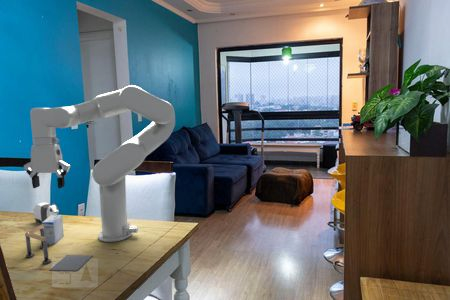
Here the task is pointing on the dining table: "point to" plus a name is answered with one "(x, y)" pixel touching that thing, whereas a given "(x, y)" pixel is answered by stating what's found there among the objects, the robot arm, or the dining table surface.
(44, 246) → the wooden l-shaped stand
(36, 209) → the giant panda
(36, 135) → the robot arm
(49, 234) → the medicine box
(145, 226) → the dining table surface
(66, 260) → the mat
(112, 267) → the dining table surface
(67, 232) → the dining table surface
